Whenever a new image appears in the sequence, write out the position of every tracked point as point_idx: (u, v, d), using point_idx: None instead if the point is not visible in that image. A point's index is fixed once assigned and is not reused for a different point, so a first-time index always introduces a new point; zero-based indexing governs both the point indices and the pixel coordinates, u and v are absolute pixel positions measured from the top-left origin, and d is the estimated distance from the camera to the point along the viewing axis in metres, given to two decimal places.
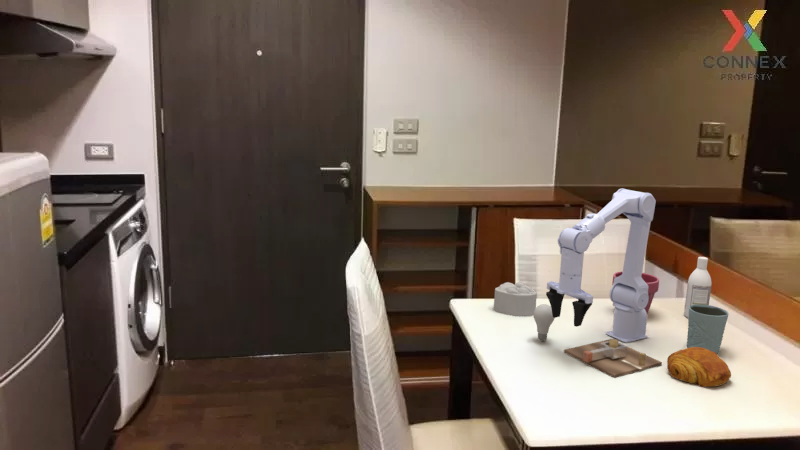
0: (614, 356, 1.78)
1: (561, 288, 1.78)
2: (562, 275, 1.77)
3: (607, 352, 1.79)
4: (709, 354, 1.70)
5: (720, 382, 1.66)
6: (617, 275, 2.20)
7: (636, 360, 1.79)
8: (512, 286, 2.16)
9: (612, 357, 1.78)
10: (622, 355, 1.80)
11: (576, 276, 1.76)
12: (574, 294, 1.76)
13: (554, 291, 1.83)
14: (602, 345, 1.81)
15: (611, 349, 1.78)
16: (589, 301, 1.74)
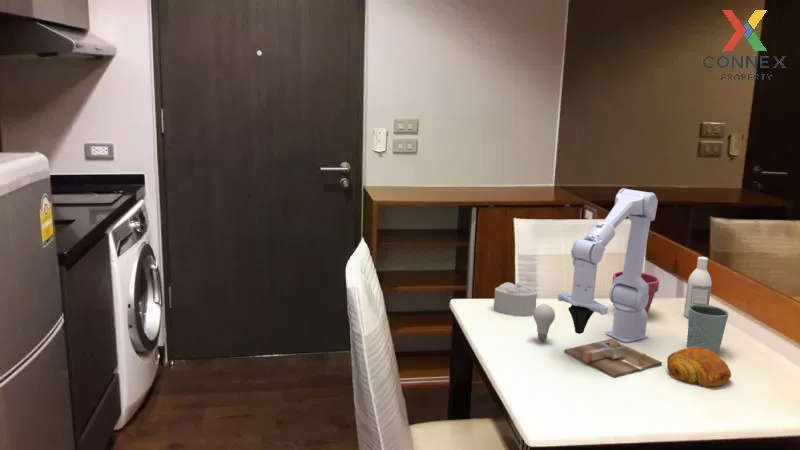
0: (614, 356, 1.78)
1: (575, 300, 1.77)
2: (576, 287, 1.76)
3: (607, 352, 1.79)
4: (709, 354, 1.71)
5: (720, 382, 1.66)
6: (617, 275, 2.20)
7: (636, 360, 1.79)
8: (512, 286, 2.16)
9: (612, 357, 1.78)
10: (622, 355, 1.80)
11: (590, 287, 1.75)
12: (589, 305, 1.75)
13: None
14: (602, 345, 1.81)
15: (611, 349, 1.78)
16: (604, 312, 1.73)
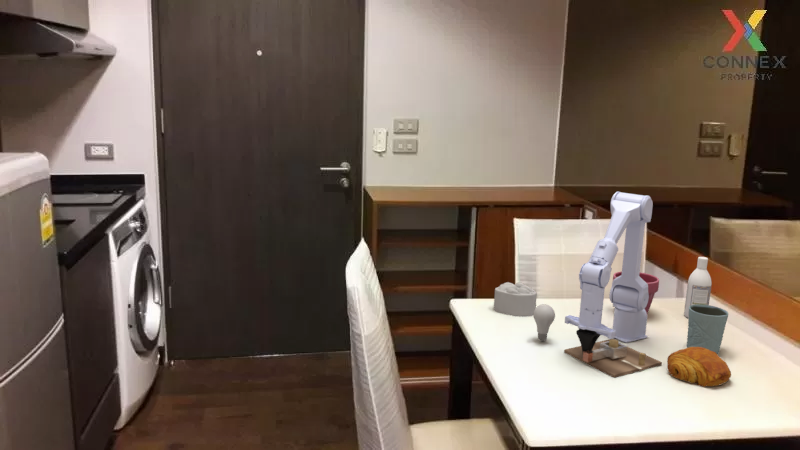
0: (614, 356, 1.78)
1: (582, 323, 1.76)
2: (583, 310, 1.75)
3: (607, 352, 1.79)
4: (709, 354, 1.71)
5: (720, 382, 1.66)
6: (617, 275, 2.20)
7: (636, 360, 1.79)
8: (512, 286, 2.16)
9: (612, 357, 1.78)
10: (622, 355, 1.80)
11: (598, 311, 1.74)
12: (596, 329, 1.74)
13: None
14: (602, 345, 1.81)
15: (611, 349, 1.78)
16: (612, 336, 1.72)
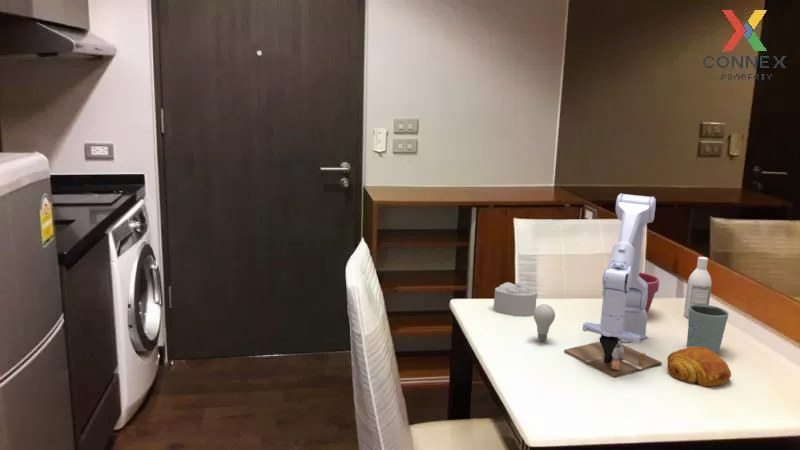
0: (622, 355, 1.79)
1: (606, 330, 1.71)
2: (607, 317, 1.71)
3: None
4: (709, 354, 1.71)
5: (720, 382, 1.66)
6: None
7: (636, 360, 1.79)
8: (512, 286, 2.16)
9: (621, 357, 1.79)
10: None
11: (622, 317, 1.70)
12: (621, 335, 1.70)
13: None
14: None
15: (620, 349, 1.78)
16: (638, 341, 1.69)
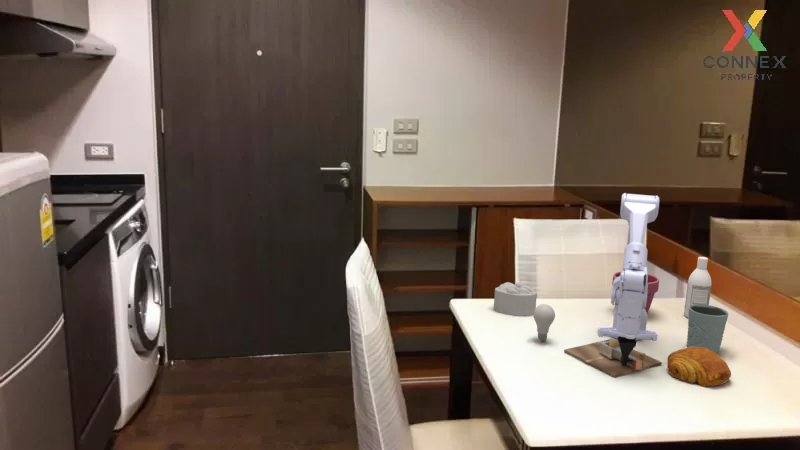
0: None
1: (628, 333, 1.70)
2: (629, 319, 1.69)
3: None
4: (709, 353, 1.71)
5: (720, 381, 1.66)
6: (617, 275, 2.20)
7: None
8: (512, 286, 2.16)
9: None
10: None
11: (640, 317, 1.71)
12: (643, 335, 1.71)
13: None
14: (614, 350, 1.78)
15: None
16: None
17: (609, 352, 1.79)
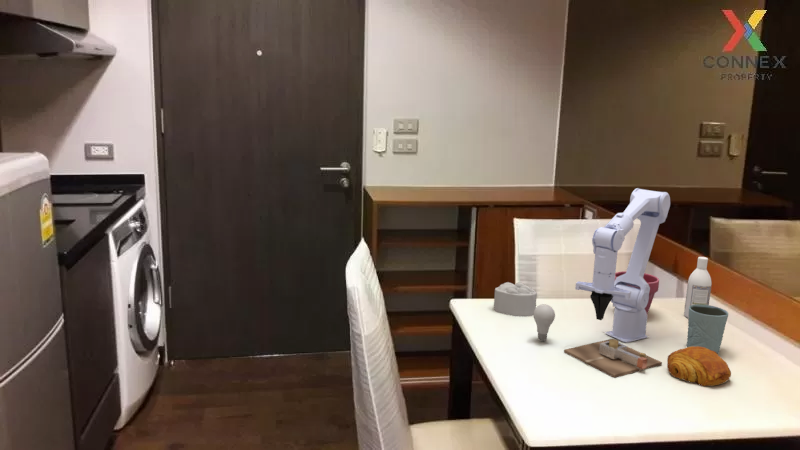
0: None
1: (598, 287, 1.80)
2: (599, 274, 1.79)
3: None
4: (709, 353, 1.71)
5: (720, 381, 1.67)
6: (617, 275, 2.20)
7: None
8: (512, 286, 2.16)
9: None
10: None
11: (613, 274, 1.79)
12: (613, 292, 1.79)
13: None
14: (617, 350, 1.78)
15: (624, 347, 1.80)
16: (629, 297, 1.78)
17: (611, 353, 1.78)
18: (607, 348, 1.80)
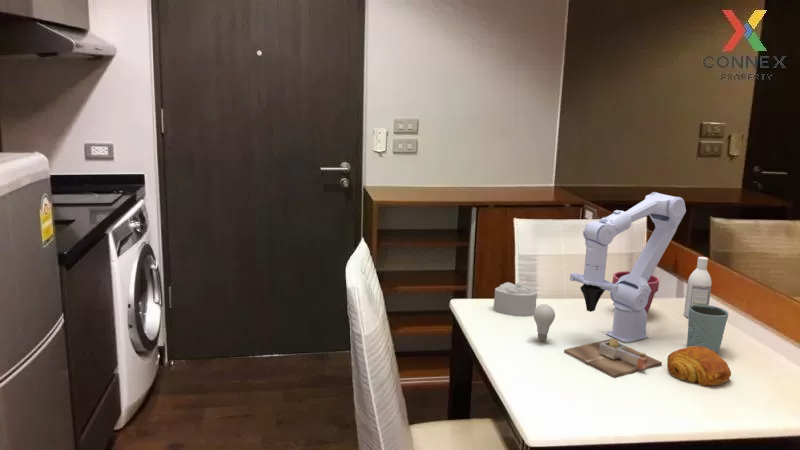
0: None
1: (587, 279, 1.86)
2: (588, 266, 1.86)
3: None
4: (709, 353, 1.71)
5: (720, 381, 1.67)
6: (617, 275, 2.20)
7: None
8: (512, 286, 2.16)
9: None
10: None
11: (601, 267, 1.85)
12: (600, 284, 1.84)
13: None
14: (617, 350, 1.78)
15: (624, 347, 1.80)
16: (615, 290, 1.83)
17: (611, 353, 1.78)
18: (607, 348, 1.80)
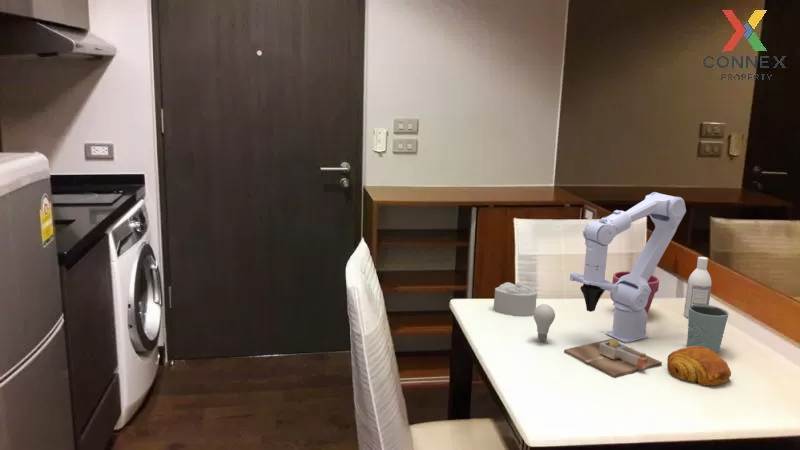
0: None
1: (587, 279, 1.86)
2: (588, 266, 1.86)
3: None
4: (709, 353, 1.71)
5: (720, 381, 1.67)
6: (617, 275, 2.20)
7: None
8: (512, 286, 2.16)
9: None
10: None
11: (601, 267, 1.85)
12: (600, 284, 1.84)
13: None
14: (617, 350, 1.78)
15: (624, 347, 1.80)
16: (615, 290, 1.83)
17: (611, 353, 1.78)
18: (607, 348, 1.80)
